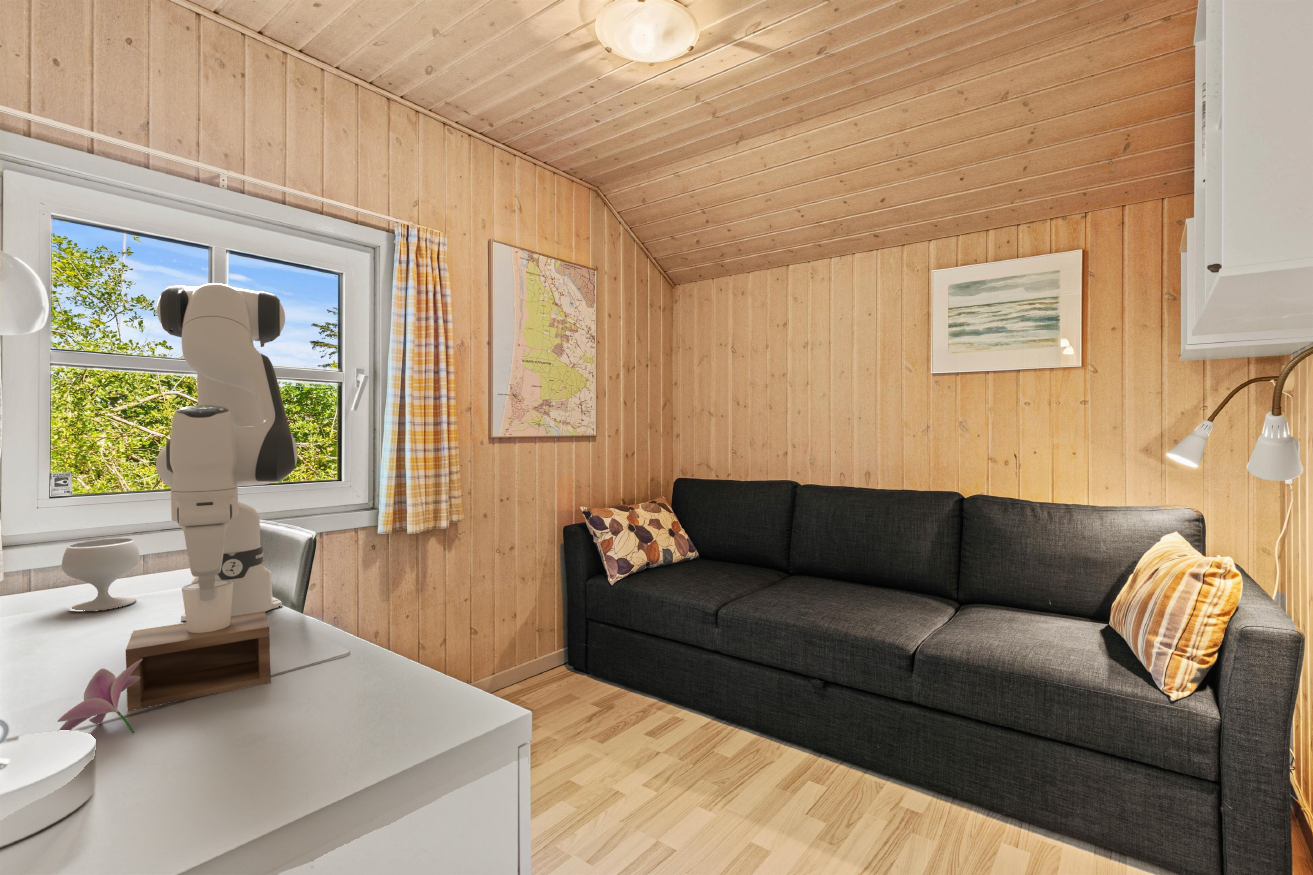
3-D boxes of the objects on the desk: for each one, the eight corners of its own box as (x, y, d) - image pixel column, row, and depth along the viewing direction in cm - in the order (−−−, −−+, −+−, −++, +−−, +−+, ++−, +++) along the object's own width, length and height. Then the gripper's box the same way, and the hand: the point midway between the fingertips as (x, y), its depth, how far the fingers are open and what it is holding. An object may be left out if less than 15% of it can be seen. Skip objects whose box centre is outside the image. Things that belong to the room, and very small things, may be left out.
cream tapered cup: (208, 635, 102) (207, 590, 102) (171, 632, 103) (170, 588, 103) (244, 621, 108) (243, 579, 108) (209, 619, 110) (208, 578, 110)
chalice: (62, 606, 154) (60, 542, 154) (138, 595, 164) (136, 535, 163) (63, 618, 144) (61, 550, 144) (144, 606, 154) (142, 542, 153)
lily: (158, 713, 97) (120, 659, 96) (189, 699, 91) (149, 641, 90) (63, 776, 87) (19, 716, 86) (90, 764, 81) (44, 700, 80)
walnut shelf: (135, 686, 105) (133, 630, 105) (266, 662, 115) (264, 611, 115) (127, 711, 96) (125, 649, 96) (270, 682, 106) (269, 626, 106)
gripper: (183, 501, 112) (186, 582, 113) (178, 516, 95) (180, 611, 96) (227, 498, 116) (230, 577, 116) (230, 512, 99) (232, 604, 99)
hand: (207, 592), depth 106 cm, fingers open, 8 cm apart
